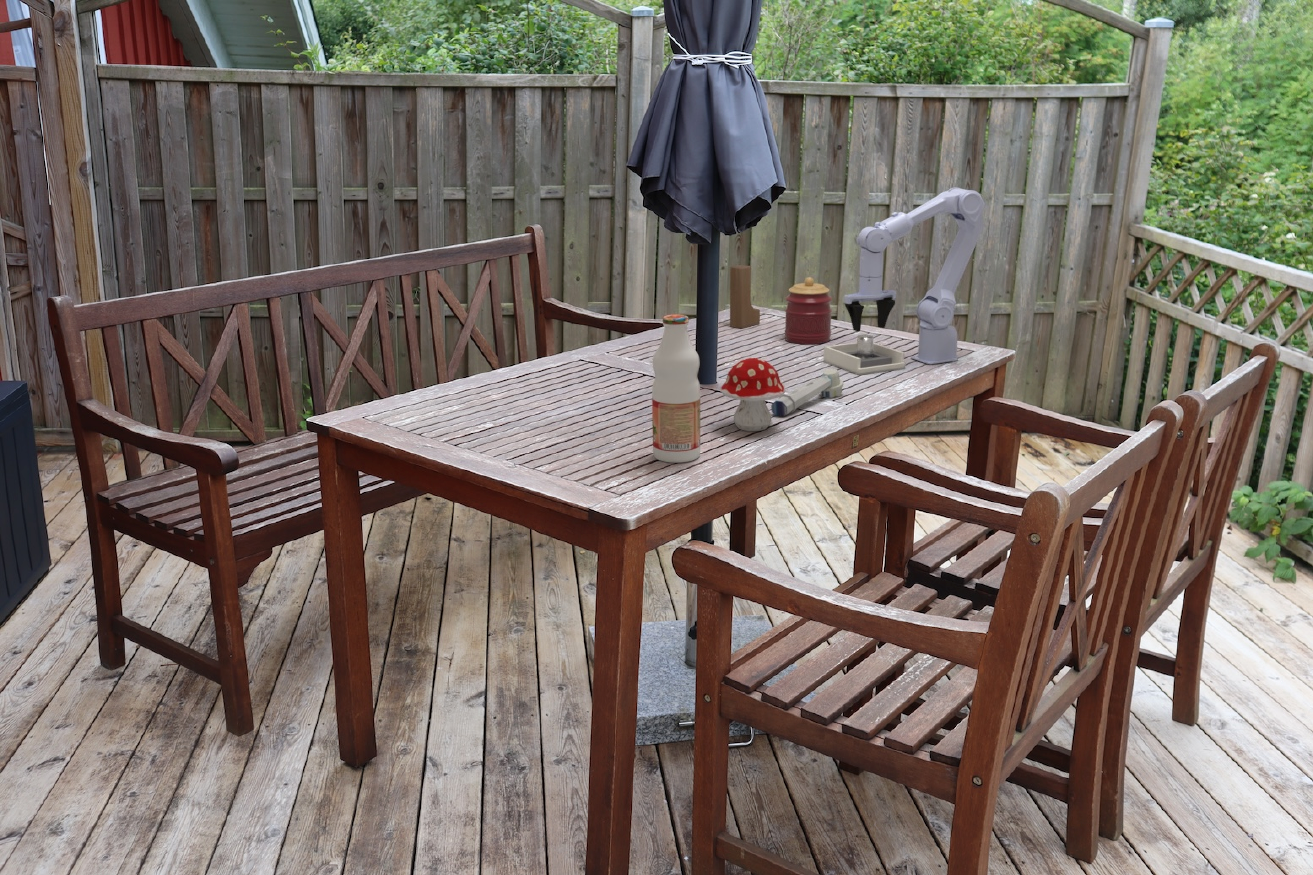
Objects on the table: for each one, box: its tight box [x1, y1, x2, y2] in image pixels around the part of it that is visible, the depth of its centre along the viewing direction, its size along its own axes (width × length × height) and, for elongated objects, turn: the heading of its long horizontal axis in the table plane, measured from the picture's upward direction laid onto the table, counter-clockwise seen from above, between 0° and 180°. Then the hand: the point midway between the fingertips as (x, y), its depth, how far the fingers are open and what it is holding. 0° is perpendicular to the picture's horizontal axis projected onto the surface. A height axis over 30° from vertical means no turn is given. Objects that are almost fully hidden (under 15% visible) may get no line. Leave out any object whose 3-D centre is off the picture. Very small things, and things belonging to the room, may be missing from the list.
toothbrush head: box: [770, 368, 844, 418], centre depth 266 cm, size 5×7×25 cm
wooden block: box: [729, 264, 761, 329], centre depth 346 cm, size 9×4×18 cm, turn 137°
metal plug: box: [856, 334, 874, 359], centre depth 299 cm, size 4×4×7 cm
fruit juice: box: [651, 313, 701, 464], centre depth 228 cm, size 9×9×28 cm
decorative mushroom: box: [719, 357, 787, 432], centre depth 248 cm, size 14×14×15 cm
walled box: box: [823, 342, 906, 376], centre depth 300 cm, size 14×16×4 cm
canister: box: [784, 276, 833, 345], centre depth 327 cm, size 13×13×18 cm
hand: (869, 329), depth 298 cm, fingers open, 7 cm apart
